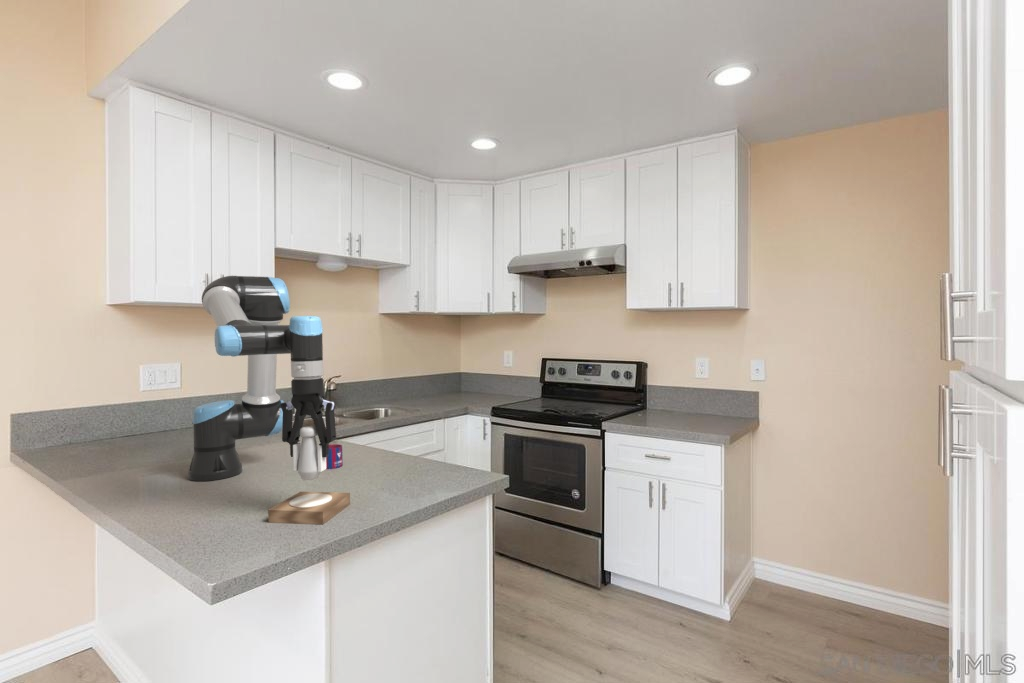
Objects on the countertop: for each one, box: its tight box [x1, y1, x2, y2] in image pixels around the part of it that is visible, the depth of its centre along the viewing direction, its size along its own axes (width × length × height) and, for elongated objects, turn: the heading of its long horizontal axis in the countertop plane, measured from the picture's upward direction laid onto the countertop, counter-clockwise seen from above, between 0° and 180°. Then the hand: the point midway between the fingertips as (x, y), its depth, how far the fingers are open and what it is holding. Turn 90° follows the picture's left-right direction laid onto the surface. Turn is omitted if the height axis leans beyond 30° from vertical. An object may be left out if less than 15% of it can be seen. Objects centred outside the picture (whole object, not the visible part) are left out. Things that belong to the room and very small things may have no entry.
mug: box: [325, 443, 344, 470], centre depth 174 cm, size 7×10×7 cm
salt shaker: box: [297, 425, 322, 481], centre depth 128 cm, size 6×6×13 cm
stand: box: [267, 491, 351, 525], centre depth 129 cm, size 14×14×3 cm
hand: (310, 469), depth 128 cm, fingers closed on salt shaker, 6 cm apart
